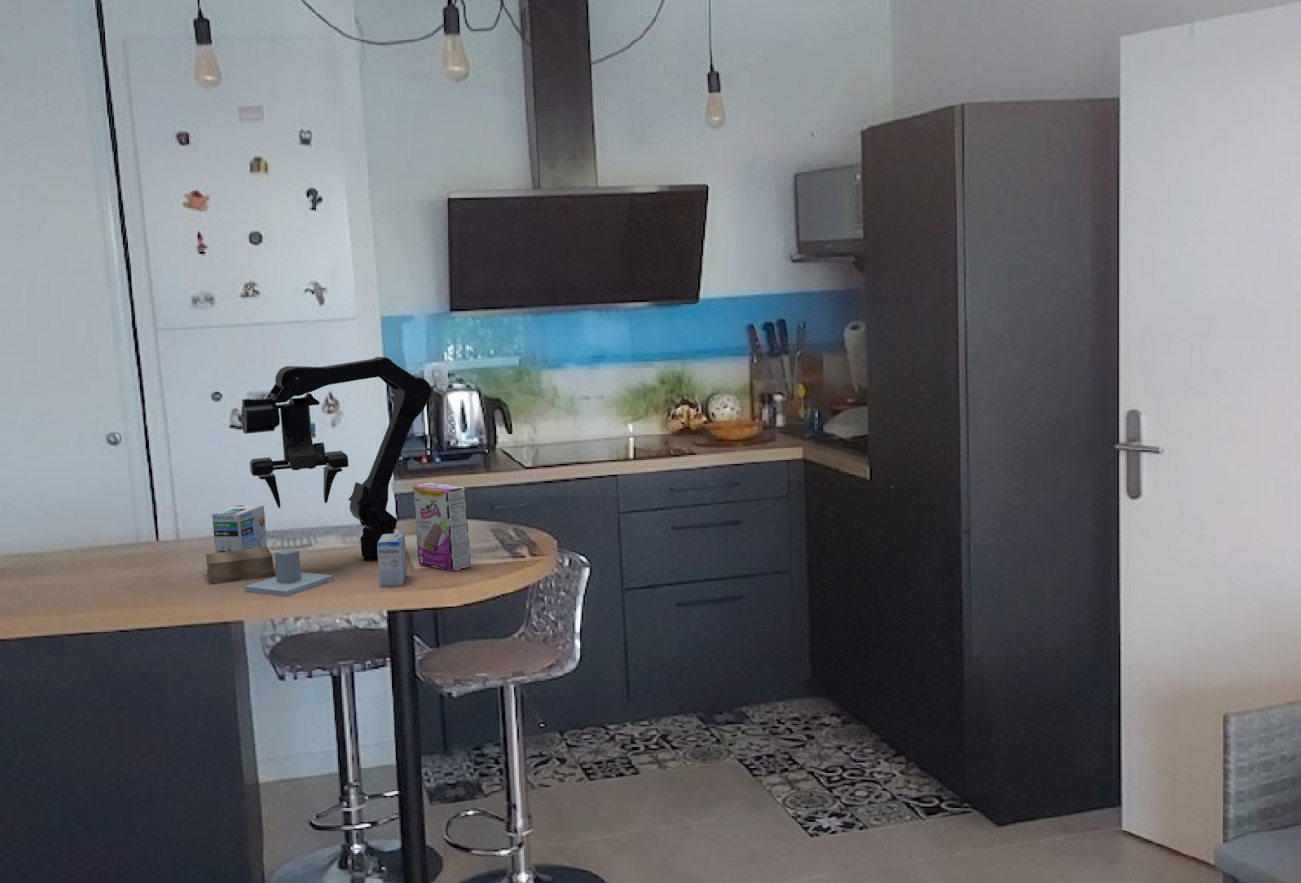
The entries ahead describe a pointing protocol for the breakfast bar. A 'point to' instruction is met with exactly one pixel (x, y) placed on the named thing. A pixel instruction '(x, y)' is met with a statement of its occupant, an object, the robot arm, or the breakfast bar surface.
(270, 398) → the robot arm
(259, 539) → the light bulb box
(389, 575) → the medicine box
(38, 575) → the breakfast bar surface
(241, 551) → the walnut box
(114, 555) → the breakfast bar surface
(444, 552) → the candy bar box
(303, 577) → the lid
